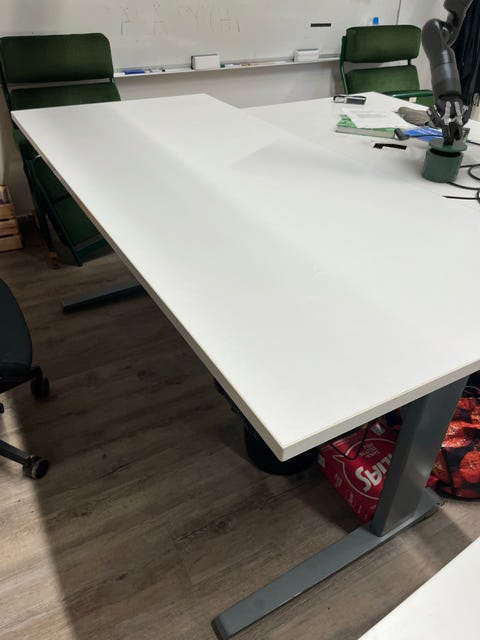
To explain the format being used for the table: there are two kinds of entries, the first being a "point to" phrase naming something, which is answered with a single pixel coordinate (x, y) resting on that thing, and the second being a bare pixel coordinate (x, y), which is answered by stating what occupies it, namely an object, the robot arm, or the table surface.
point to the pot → (441, 165)
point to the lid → (449, 141)
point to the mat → (397, 146)
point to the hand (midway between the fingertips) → (453, 139)
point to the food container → (464, 134)
